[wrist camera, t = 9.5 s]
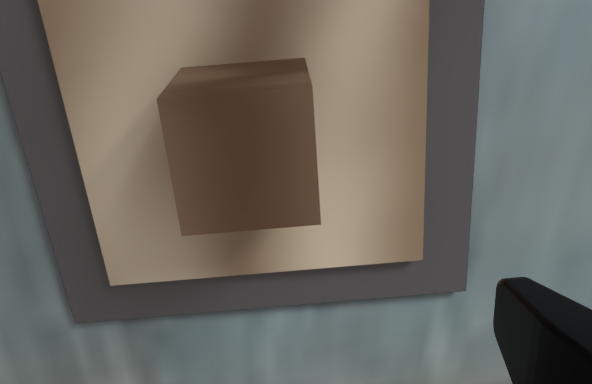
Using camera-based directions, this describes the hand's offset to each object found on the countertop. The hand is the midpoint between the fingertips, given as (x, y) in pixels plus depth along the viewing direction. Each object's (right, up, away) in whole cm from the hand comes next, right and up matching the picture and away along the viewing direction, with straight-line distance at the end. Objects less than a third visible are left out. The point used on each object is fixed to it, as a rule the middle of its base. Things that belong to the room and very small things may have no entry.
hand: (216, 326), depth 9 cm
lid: (0, +5, +10) cm, 11 cm away
